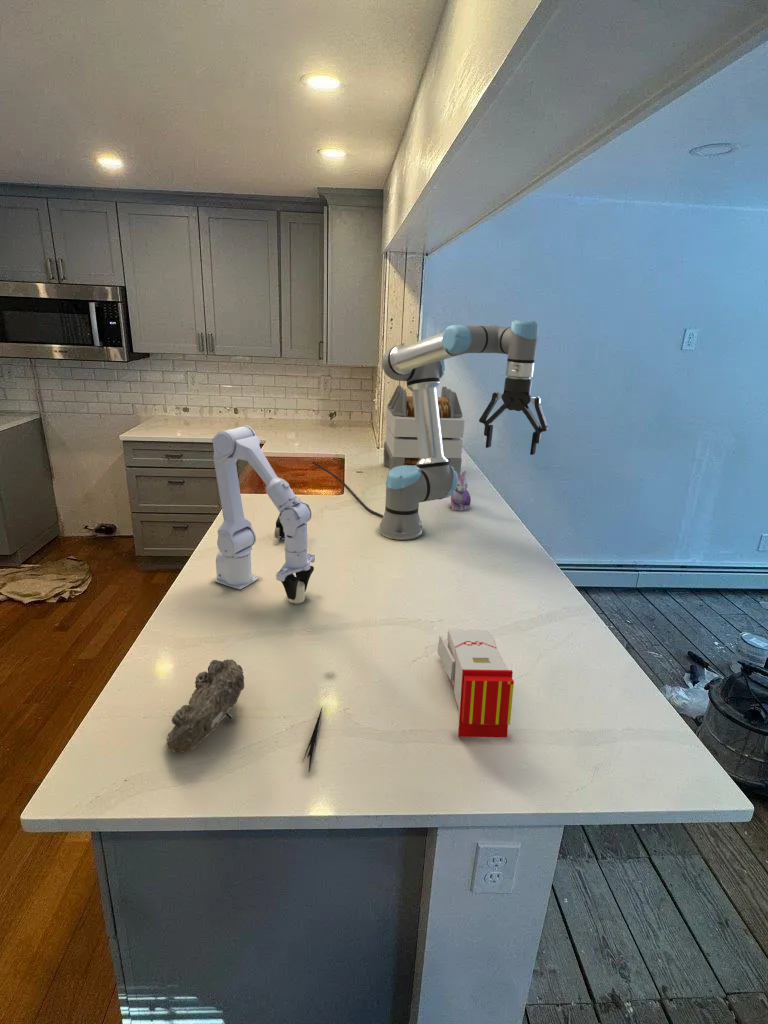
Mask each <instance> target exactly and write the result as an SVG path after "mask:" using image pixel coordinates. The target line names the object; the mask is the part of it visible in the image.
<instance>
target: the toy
mask: <svg viewBox="0 0 768 1024" xmlns="http://www.w3.org/2000/svg"><path fill="white" fill-rule="evenodd" d="M446 640H447V643H446V641H445V639H444V636H443V635H442V634H439V637H438V646H437V656H438V657H439V659H440V661H441V663H442V666H443V668H444V670H445V672H446V674H447V677H448V679H449V681H450V684H451V687H452V690H453V693H454V697H455V701H456V705H457V708H458V711H459V714H458V715H459V716H458V730H457V731H458V732H457V737H458V738H508V731H509V726H510V725H511V717H512V707H513V697H514V696H513V695H514V684H515V680H514V679H513V673H514V671H513V670H512V669H508V667H507V665H506V662H505V661H504V659H503V658H502V655H501V653H500V651H499V649H498V647H497V643H496V639H495V637H494V635H493V634H491V632H490V631H489V629H467V628H466V629H465V628H463V629H461V628H460V629H459V628H448V630H447V639H446Z"/></svg>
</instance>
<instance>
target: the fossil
mask: <svg viewBox="0 0 768 1024" xmlns="http://www.w3.org/2000/svg"><path fill="white" fill-rule="evenodd" d="M243 670H244V669H243V667H242V665H240V664H237V662H236V661H235V660H234V659H232V658H231V659H227V658H226V659H224V660H223V661H222V660H217V659H212V660H211V661H210V663H209V665H208V666H207V671H201V672H199V673H198V674H197V675H196V676H195V680H194V684H195V685H194V687H195V689H194V690H193V693H192V694H191V697H190V698H189V700H188V704H184V705H182V706H181V707H180V709H177V710H176V711H175V713H174V715H173V716H172V718H171V723H172V724H173V727H172V730H171V731H170V732H168V734H167V738H166V741H167V742H166V745H167V749H168V750H169V751H173V752H174V753H176V754H178V753H182V752H188V751H189V752H192V751H193V750H195V748H196V747H197V746H199V744H200V743H201V742H203V741H204V740H205V739H206V738H207V737H208V736H209V735H210V734H211V733H212V732H214V730H215V729H217V727H218V726H219V724H220V722H221V721H222V720H223V719H224V718H225V716H226V717H227V719H229V720H233V717H232V715H230V714H229V710H230V709H231V708H234V706H235V704H236V703H237V702H238V699H239V697H240V695H241V693H242V691H243V690H245V689H244V688H245V675H244V671H243Z"/></svg>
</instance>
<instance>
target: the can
mask: <svg viewBox="0 0 768 1024" xmlns="http://www.w3.org/2000/svg"><path fill="white" fill-rule="evenodd" d="M305 600H306V592H305V584H304V583H303V582H301V581H298V584H297V589H296V598H295V599H294V600H292V599H289V598H288V601H289V603H291V604H301V603H303V602H305Z"/></svg>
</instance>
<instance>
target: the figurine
mask: <svg viewBox="0 0 768 1024" xmlns="http://www.w3.org/2000/svg"><path fill="white" fill-rule="evenodd" d="M456 473H457V478H458V481H457V487H456V490H455V491H454V493H453V494H452V495H451V496H450V504H449V507H450V508H451V509H452V510H453V511H466V510H468V509H470V507H471V502H472V498H471V494H470V492H469V491H468V490H467V489H468V487H469V485H468V482H467V480H466V475H467V471H466V470H464V471H462V473H461V474H460V475H459V473H458V472H457V471H456Z"/></svg>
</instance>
